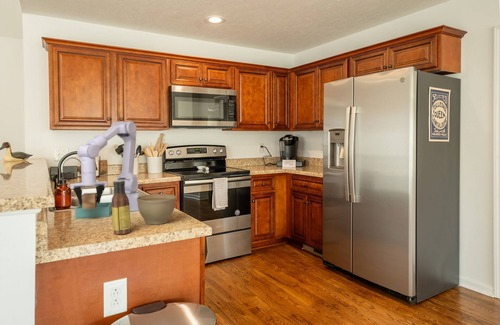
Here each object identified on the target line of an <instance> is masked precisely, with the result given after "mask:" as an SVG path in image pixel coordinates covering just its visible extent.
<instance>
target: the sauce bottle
mask: <svg viewBox="0 0 500 325" xmlns="http://www.w3.org/2000/svg"><path fill="white" fill-rule="evenodd" d="M112 183H113V184H112V185H113V188H114V189H113V190H114V191H113V193H114V194H113V196H112V198H111V202H112V213H111V214H112V229H113V233H114V235H118V234H119V235H121V236H122V235H127V234H129V233H131V231H132V230H131V228H132V225H131V223H132V222H131V211H130V206H129V199H128V197H127V195H126V193H125V181H124V180H118V181H117V180H113V182H112Z"/></svg>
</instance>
